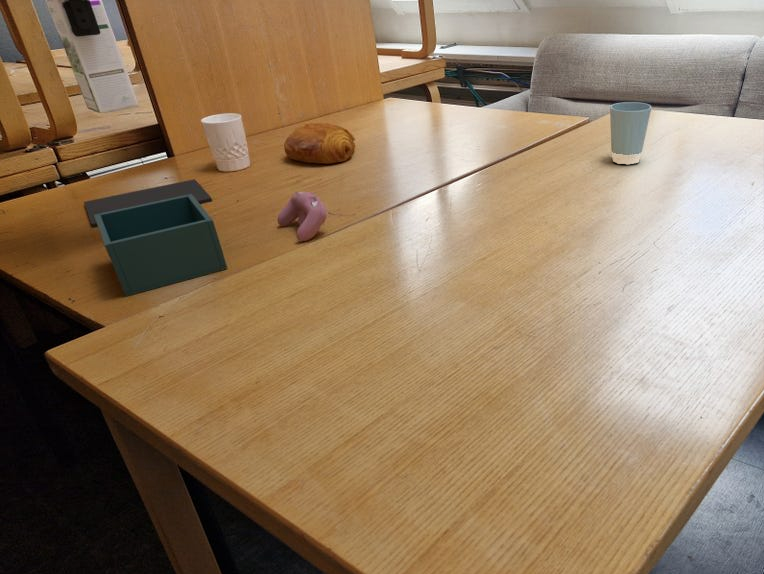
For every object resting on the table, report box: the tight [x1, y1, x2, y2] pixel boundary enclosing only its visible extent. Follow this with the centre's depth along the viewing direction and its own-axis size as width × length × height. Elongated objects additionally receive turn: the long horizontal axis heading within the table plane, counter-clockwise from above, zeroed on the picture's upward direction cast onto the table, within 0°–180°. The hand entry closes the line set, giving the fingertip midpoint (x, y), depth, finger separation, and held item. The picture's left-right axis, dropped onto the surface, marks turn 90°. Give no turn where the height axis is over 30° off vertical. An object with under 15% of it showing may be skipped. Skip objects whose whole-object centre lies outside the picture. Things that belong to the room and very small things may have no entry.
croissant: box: [283, 122, 356, 165], centre depth 133 cm, size 14×16×8 cm
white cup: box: [200, 113, 252, 173], centre depth 128 cm, size 8×8×10 cm
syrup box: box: [45, 0, 140, 114], centre depth 87 cm, size 6×6×14 cm
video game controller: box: [277, 190, 328, 243], centre depth 99 cm, size 10×5×7 cm, turn 35°
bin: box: [94, 194, 228, 297], centre depth 89 cm, size 14×14×8 cm
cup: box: [609, 101, 652, 155], centre depth 120 cm, size 8×8×10 cm
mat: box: [83, 178, 213, 228], centre depth 114 cm, size 20×14×1 cm
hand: (85, 31), depth 86 cm, fingers closed on syrup box, 6 cm apart
